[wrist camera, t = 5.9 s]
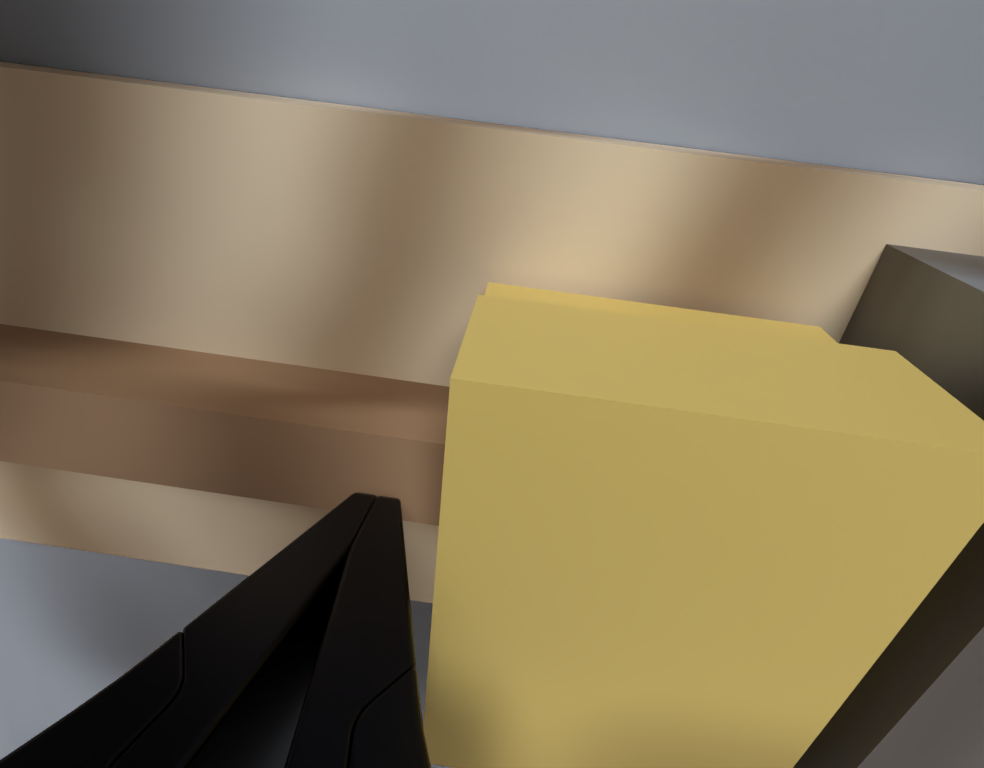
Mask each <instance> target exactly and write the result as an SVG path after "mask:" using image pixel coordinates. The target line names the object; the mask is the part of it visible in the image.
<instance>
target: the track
mask: <svg viewBox="0 0 984 768" xmlns="http://www.w3.org/2000/svg"><path fill="white" fill-rule="evenodd" d="M488 282H491V283H498V284H506V285H513V286H521V287H528V288H536V289H543V290H551V291H558V292H565V293H573V294H580V295H588V296H595V297H603V298H610V299H618V300H625V301H632V302H640V303H647V304H655V305H662V306H670V307H677V308H685V309H692V310H699V311H707V312H714V313H722V314H729V315H737V316H744V317H752V318H759V319H766V320H774V321H781V322H789V323H796V324H804V325H811V326H819V327H821V328H822V329H823V330H824V331H825V332H826V333H827V334H828V335H829V336H830V337H832V338H833V339H834V340H835V341H836V342H837V343H840V344H847V345H854V346H862V347H869V348H877V349H884V350H891V351H896V352H897V353H899V354H900V355H901V356H902V357H904V358H905V359H906V360H908V361H909V362H910V363H911V364H913V365H914V366H915V367H916V368H918V369H919V370H920V371H921V372H923V373H924V374H925V375H927V376H928V377H929V378H930V379H932V380H933V381H934V382H935V383H937V384H938V385H939V386H940V387H942V388H943V389H944V390H946V391H947V392H948V393H949V394H951V395H952V396H953V397H954V398H956V399H957V400H958V401H959V402H961V403H962V404H963V405H965V406H966V407H967V408H968V409H970V410H971V411H972V412H973V413H975V414H976V415H977V416H978V417H980V418H981V419H982V420H983V421H984V185H977V184H969V183H961V182H953V181H945V180H937V179H929V178H921V177H913V176H905V175H898V174H890V173H882V172H874V171H866V170H858V169H850V168H842V167H834V166H826V165H818V164H810V163H802V162H794V161H786V160H778V159H770V158H763V157H755V156H747V155H739V154H731V153H723V152H715V151H707V150H699V149H691V148H683V147H675V146H667V145H659V144H651V143H643V142H635V141H628V140H620V139H612V138H604V137H596V136H588V135H580V134H572V133H564V132H556V131H548V130H540V129H532V128H524V127H516V126H508V125H500V124H493V123H485V122H477V121H469V120H461V119H453V118H445V117H437V116H429V115H421V114H413V113H405V112H397V111H389V110H381V109H373V108H365V107H358V106H350V105H342V104H334V103H326V102H318V101H310V100H302V99H294V98H286V97H278V96H270V95H262V94H254V93H246V92H238V91H231V90H223V89H215V88H207V87H199V86H191V85H183V84H175V83H167V82H159V81H151V80H143V79H135V78H127V77H119V76H111V75H103V74H96V73H88V72H80V71H72V70H64V69H56V68H48V67H40V66H32V65H24V64H16V63H8V62H0V538H4V539H11V540H18V541H24V542H31V543H37V544H44V545H51V546H57V547H64V548H70V549H77V550H83V551H90V552H97V553H103V554H110V555H116V556H123V557H130V558H136V559H143V560H149V561H156V562H163V563H169V564H176V565H182V566H189V567H195V568H202V569H209V570H215V571H222V572H228V573H235V574H242V575H248V576H250V575H251V574H252V573H254V572H255V571H256V570H257V569H259V568H260V567H261V566H262V565H264V564H265V563H266V562H267V561H269V560H270V559H271V558H272V557H274V556H275V555H276V554H277V553H279V552H280V551H281V550H282V549H284V548H285V547H286V546H287V545H289V544H290V543H291V542H293V541H294V540H295V539H296V538H298V537H299V536H300V535H301V534H303V533H304V532H305V531H306V530H308V529H309V528H310V527H311V526H313V525H314V524H315V523H316V522H318V521H319V520H320V519H321V518H323V517H324V516H325V515H326V514H328V513H329V512H330V511H331V510H333V509H334V508H335V507H336V506H338V505H339V504H340V503H341V502H343V501H344V500H345V499H346V498H348V497H349V496H350V495H352V494H353V493H356V492H360V493H366V494H373V495H376V496H377V497H378V496H387V497H393V498H398V499H400V501H401V509H402V520H403V530H404V541H405V552H406V562H407V573H408V584H409V594H410V600H413V601H419V602H426V603H433V596H434V583H435V570H436V557H437V544H438V531H439V518H440V505H441V492H442V479H443V466H444V453H445V440H446V427H447V414H448V401H449V388H450V377H451V374H452V371H453V368H454V365H455V362H456V359H457V356H458V353H459V350H460V347H461V344H462V341H463V338H464V335H465V332H466V329H467V326H468V323H469V320H470V317H471V314H472V311H473V308H474V305H475V302H476V299H477V296H478V295H484V294H485V291H486V288H487V284H488ZM793 768H984V523H983V524H982V525H981V526H980V528H979V529H978V530H977V532H976V533H975V534H974V535H973V537H972V538H971V539H970V541H969V542H968V543H967V544H966V546H965V547H964V548H963V550H962V551H961V552H960V553H959V555H958V556H957V557H956V559H955V560H954V561H953V562H952V564H951V565H950V566H949V568H948V569H947V570H946V571H945V573H944V574H943V575H942V577H941V578H940V579H939V580H938V582H937V583H936V584H935V586H934V587H933V588H932V589H931V591H930V592H929V593H928V595H927V596H926V597H925V598H924V600H923V601H922V602H921V604H920V605H919V606H918V607H917V609H916V610H915V611H914V613H913V614H912V615H911V616H910V618H909V619H908V620H907V622H906V623H905V624H904V626H903V627H902V628H901V629H900V631H899V632H898V633H897V635H896V636H895V637H894V638H893V640H892V641H891V642H890V644H889V645H888V646H887V647H886V649H885V650H884V651H883V653H882V654H881V655H880V656H879V658H878V659H877V660H876V662H875V663H874V664H873V665H872V667H871V668H870V669H869V671H868V672H867V673H866V674H865V676H864V677H863V678H862V680H861V681H860V682H859V683H858V685H857V686H856V687H855V689H854V690H853V691H852V692H851V694H850V695H849V696H848V698H847V699H846V700H845V701H844V703H843V704H842V705H841V707H840V708H839V709H838V710H837V712H836V713H835V714H834V716H833V717H832V718H831V719H830V721H829V722H828V723H827V725H826V726H825V727H824V728H823V730H822V731H821V732H820V734H819V735H818V736H817V737H816V739H815V740H814V741H813V743H812V744H811V745H810V746H809V748H808V749H807V750H806V752H805V753H804V754H803V755H802V757H801V758H800V759H799V761H798V762H797V763H796V764H795V766H794V767H793Z"/></svg>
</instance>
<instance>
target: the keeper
mask: <svg viewBox="0 0 984 768" xmlns="http://www.w3.org/2000/svg"><path fill="white" fill-rule="evenodd" d="M983 523H984V421H983V420H982V419H981V418H980V417H978V416H977V415H976V414H975V413H973V412H972V411H971V410H970V409H968V408H967V407H966V406H965V405H963V404H962V403H961V402H959V401H958V400H957V399H956V398H954V397H953V396H952V395H951V394H949V393H948V392H947V391H946V390H944V389H943V388H942V387H940V386H939V385H938V384H937V383H935V382H934V381H933V380H932V379H930V378H929V377H928V376H927V375H925V374H924V373H923V372H921V371H920V370H919V369H918V368H916V367H915V366H914V365H913V364H911V363H910V362H909V361H908V360H906V359H905V358H904V357H902V356H901V355H900V354H899V353H897V352H896V351H891V350H884V349H877V348H869V347H862V346H854V345H847V344H840V343H837V342H836V341H835V340H834V339H833V338H832V337H830V336H829V335H828V334H827V333H826V332H825V331H824V330H823V329H822V328H821V327H819V326H811V325H804V324H796V323H789V322H781V321H774V320H766V319H759V318H752V317H744V316H737V315H729V314H722V313H714V312H707V311H699V310H692V309H685V308H677V307H670V306H662V305H655V304H647V303H640V302H632V301H625V300H618V299H610V298H603V297H595V296H588V295H580V294H573V293H565V292H558V291H551V290H543V289H536V288H528V287H521V286H513V285H506V284H498V283H491V282H488V284H487V288H486V291H485V294H484V295H478V296H477V299H476V302H475V305H474V308H473V311H472V314H471V317H470V320H469V323H468V326H467V329H466V332H465V335H464V338H463V341H462V344H461V347H460V350H459V353H458V356H457V359H456V362H455V365H454V368H453V371H452V374H451V377H450V388H449V401H448V414H447V427H446V440H445V453H444V466H443V479H442V492H441V505H440V518H439V531H438V544H437V557H436V570H435V583H434V596H433V609H432V622H431V635H430V648H429V661H428V674H427V687H426V700H425V713H424V726H423V728H424V734H425V739H426V744H427V749H428V754H429V759H430V764H435V765H441V766H447V767H453V768H793V767H794V766H795V764H796V763H797V762H798V761H799V759H800V758H801V757H802V755H803V754H804V753H805V752H806V750H807V749H808V748H809V746H810V745H811V744H812V743H813V741H814V740H815V739H816V737H817V736H818V735H819V734H820V732H821V731H822V730H823V728H824V727H825V726H826V725H827V723H828V722H829V721H830V719H831V718H832V717H833V716H834V714H835V713H836V712H837V710H838V709H839V708H840V707H841V705H842V704H843V703H844V701H845V700H846V699H847V698H848V696H849V695H850V694H851V692H852V691H853V690H854V689H855V687H856V686H857V685H858V683H859V682H860V681H861V680H862V678H863V677H864V676H865V674H866V673H867V672H868V671H869V669H870V668H871V667H872V665H873V664H874V663H875V662H876V660H877V659H878V658H879V656H880V655H881V654H882V653H883V651H884V650H885V649H886V647H887V646H888V645H889V644H890V642H891V641H892V640H893V638H894V637H895V636H896V635H897V633H898V632H899V631H900V629H901V628H902V627H903V626H904V624H905V623H906V622H907V620H908V619H909V618H910V616H911V615H912V614H913V613H914V611H915V610H916V609H917V607H918V606H919V605H920V604H921V602H922V601H923V600H924V598H925V597H926V596H927V595H928V593H929V592H930V591H931V589H932V588H933V587H934V586H935V584H936V583H937V582H938V580H939V579H940V578H941V577H942V575H943V574H944V573H945V571H946V570H947V569H948V568H949V566H950V565H951V564H952V562H953V561H954V560H955V559H956V557H957V556H958V555H959V553H960V552H961V551H962V550H963V548H964V547H965V546H966V544H967V543H968V542H969V541H970V539H971V538H972V537H973V535H974V534H975V533H976V532H977V530H978V529H979V528H980V526H981V525H982V524H983Z"/></svg>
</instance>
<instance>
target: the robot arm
mask: <svg viewBox="0 0 984 768" xmlns="http://www.w3.org/2000/svg"><path fill="white" fill-rule="evenodd" d="M0 768H431V764H430V759H429V754H428V749H427V744H426V739H425V734H424V728H423V720H422V712H421V705H420V697H419V687H418V677H417V670H416V658H415V647H414V637H413V626H412V616H411V605H410V594H409V584H408V573H407V562H406V552H405V541H404V530H403V520H402V509H401V501H400V499H398V498H393V497H387V496H378V497H377V496H376V495H373V494H366V493H360V492H356V493H353V494H352V495H350V496H349V497H348V498H346V499H345V500H344V501H343V502H341V503H340V504H339V505H338V506H336V507H335V508H334V509H333V510H331V511H330V512H329V513H328V514H326V515H325V516H324V517H323V518H321V519H320V520H319V521H318V522H316V523H315V524H314V525H313V526H311V527H310V528H309V529H308V530H306V531H305V532H304V533H303V534H301V535H300V536H299V537H298V538H296V539H295V540H294V541H293V542H291V543H290V544H289V545H287V546H286V547H285V548H284V549H282V550H281V551H280V552H279V553H277V554H276V555H275V556H274V557H272V558H271V559H270V560H269V561H267V562H266V563H265V564H264V565H262V566H261V567H260V568H259V569H257V570H256V571H255V572H254V573H252V574H251V575H250V576H249V577H247V578H246V579H245V580H244V581H242V582H241V583H240V584H239V585H237V586H236V587H235V588H233V589H232V590H231V591H230V592H228V593H227V594H226V595H225V596H223V597H222V598H221V599H220V600H218V601H217V602H216V603H215V604H213V605H212V606H211V607H210V608H208V609H207V610H206V611H205V612H203V613H202V614H201V615H200V616H198V617H197V618H196V619H195V620H193V621H192V622H191V623H190V624H188V625H187V626H186V627H185V628H184V629H183V633H182V632H178V633H177V634H175V635H174V636H173V637H172V638H170V639H169V640H168V641H167V642H165V643H164V644H163V645H162V646H160V647H159V648H158V649H157V650H155V651H154V652H153V653H151V654H150V655H149V656H147V657H146V658H145V659H144V660H142V661H141V662H140V663H138V664H137V665H136V666H134V667H133V668H132V669H130V670H129V671H128V672H126V673H125V674H124V675H123V676H121V677H120V678H119V679H117V680H116V681H114V682H113V683H112V684H110V685H109V686H107V687H106V688H104V689H103V690H102V691H100V692H99V693H97V694H96V695H95V696H93V697H92V698H90V699H89V700H87V701H86V702H85V703H83V704H82V705H80V706H79V707H78V708H76V709H75V710H73V711H72V712H70V713H69V714H67V715H66V716H64V717H63V718H61V719H60V720H59V721H57V722H56V723H54V724H53V725H51V726H50V727H48V728H47V729H45V730H44V731H42V732H41V733H39V734H38V735H36V736H35V737H33V738H32V739H31V740H29V741H28V742H26V743H25V744H23V745H22V746H20V747H19V748H17V749H16V750H14V751H13V752H11V753H10V754H8V755H7V756H5V757H4V758H2V759H1V760H0Z"/></svg>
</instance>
